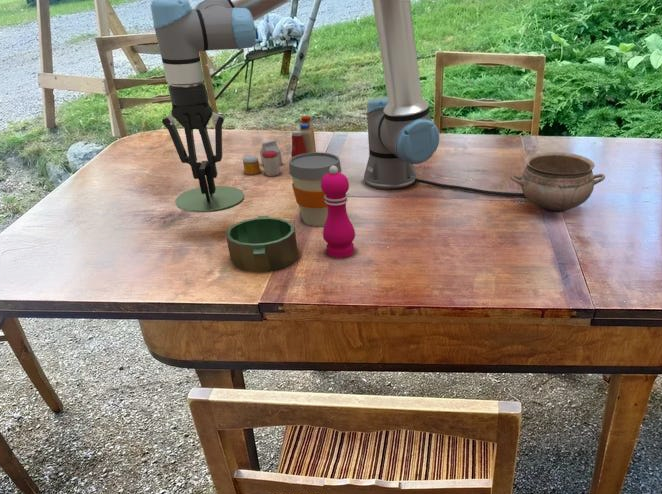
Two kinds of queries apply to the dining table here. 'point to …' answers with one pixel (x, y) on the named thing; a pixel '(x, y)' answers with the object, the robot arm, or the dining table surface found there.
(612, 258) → the dining table surface
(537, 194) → the cooking pot
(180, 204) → the lid
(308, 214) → the reusable coffee cup
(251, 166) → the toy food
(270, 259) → the pot
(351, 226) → the pepper mill
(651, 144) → the dining table surface
